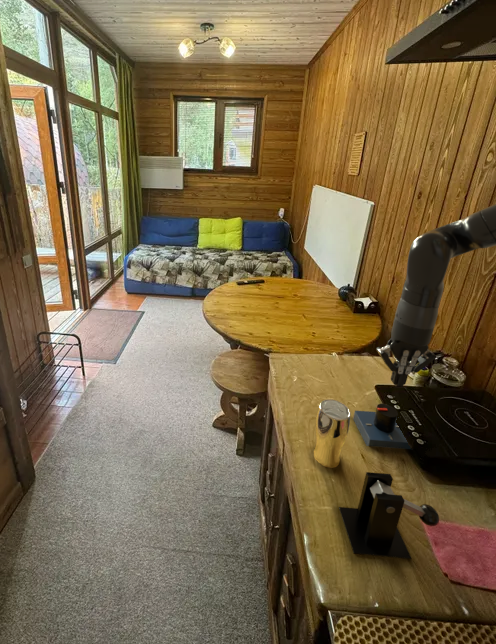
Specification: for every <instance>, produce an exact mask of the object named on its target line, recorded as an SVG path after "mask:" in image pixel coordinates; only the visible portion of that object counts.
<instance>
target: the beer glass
mask: <svg viewBox="0 0 496 644" xmlns="http://www.w3.org/2000/svg"><path fill="white" fill-rule="evenodd" d="M351 414H352V413H351V410H350V408H349V407H348V406H347V405H346V404H345V403H343V402H341V401H339V400H336V399H333V398H328V399H323V400H321V402H320V403H319V407H318V410H317V415H316V419H315V436H316V444H315V448H314V450H313V457H314V459H315V460H316V461H317V463H318V464H320V465H322V466H323V467H326V468H336V467H338V465H339V464H340V462H341V460H340V454H341V450H342V448H343V446H344V444H345V442H346V441H347V437H348V434H349V430H350V424H351Z"/></svg>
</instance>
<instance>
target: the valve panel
mask: <svg viewBox="0 0 496 644" xmlns="http://www.w3.org/2000/svg"><path fill="white" fill-rule="evenodd" d="M375 412H376V411H369V410H354V413H353V422H354V424H355V426H356V428H357V430H358V432H359V434H360V436H361V438H362V440H363V442H364V444H365V446H366V447H373V448H388V449H400V450H401V449H403V450H412V449H411V448H410V446H409V445H408V442H407V440H406V438H405V437H404V435H403V433H402V431H401V430H400V428H399V426H398V425H397V423H396V424H395V428H394V431H393V432H391V433H386V432H383V431H381V430H379V429H377V428H376V427H375V425H374V423H373V421H374V417H375Z"/></svg>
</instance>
